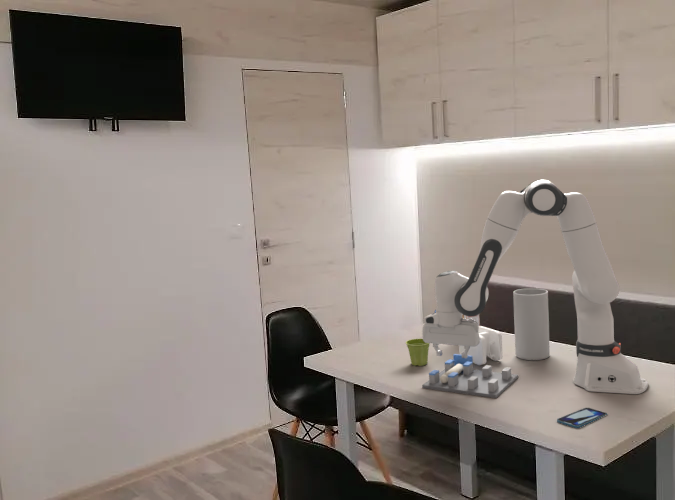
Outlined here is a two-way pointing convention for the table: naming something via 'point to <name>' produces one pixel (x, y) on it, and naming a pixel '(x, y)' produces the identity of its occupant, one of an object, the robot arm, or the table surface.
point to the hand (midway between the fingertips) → (451, 356)
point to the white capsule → (456, 368)
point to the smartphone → (581, 417)
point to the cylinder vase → (531, 324)
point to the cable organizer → (486, 346)
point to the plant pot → (418, 351)
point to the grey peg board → (471, 379)
